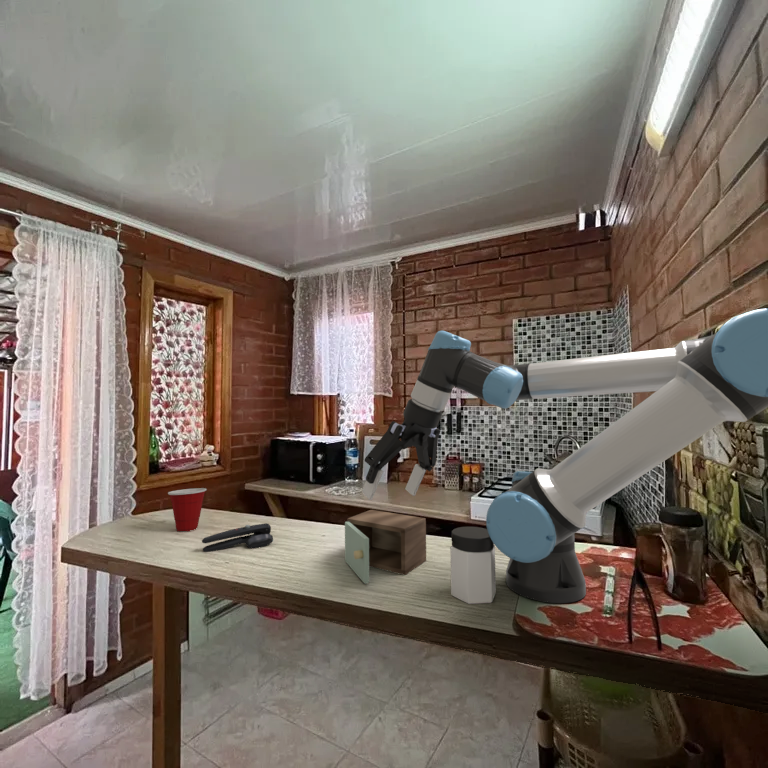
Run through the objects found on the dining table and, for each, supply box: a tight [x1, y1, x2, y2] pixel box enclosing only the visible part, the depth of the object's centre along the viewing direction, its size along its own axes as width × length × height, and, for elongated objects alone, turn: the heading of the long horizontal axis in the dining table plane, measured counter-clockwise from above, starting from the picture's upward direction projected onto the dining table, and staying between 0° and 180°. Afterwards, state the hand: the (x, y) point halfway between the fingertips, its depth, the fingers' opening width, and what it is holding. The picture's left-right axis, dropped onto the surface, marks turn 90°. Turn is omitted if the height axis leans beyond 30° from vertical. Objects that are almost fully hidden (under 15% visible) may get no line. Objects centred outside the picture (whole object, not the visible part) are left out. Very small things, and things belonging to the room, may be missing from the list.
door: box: [344, 521, 370, 584], centre depth 92 cm, size 14×3×9 cm, turn 22°
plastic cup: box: [167, 487, 208, 532], centre depth 127 cm, size 11×11×12 cm
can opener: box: [201, 523, 274, 553], centre depth 111 cm, size 18×7×6 cm, turn 113°
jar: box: [449, 526, 497, 605], centre depth 82 cm, size 9×8×12 cm
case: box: [346, 509, 427, 576], centre depth 100 cm, size 16×10×10 cm, turn 57°
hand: (389, 494), depth 90 cm, fingers open, 13 cm apart
